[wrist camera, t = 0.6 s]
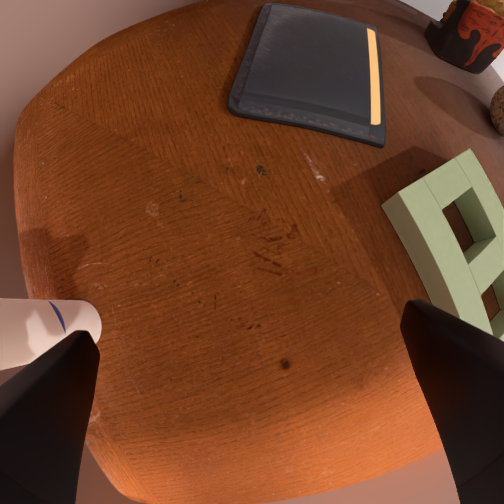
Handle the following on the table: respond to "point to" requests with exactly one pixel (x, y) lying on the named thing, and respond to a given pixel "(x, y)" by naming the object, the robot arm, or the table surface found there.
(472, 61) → the statue
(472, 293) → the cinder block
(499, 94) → the decorative egg
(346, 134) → the wallet
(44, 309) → the tube
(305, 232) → the table surface
